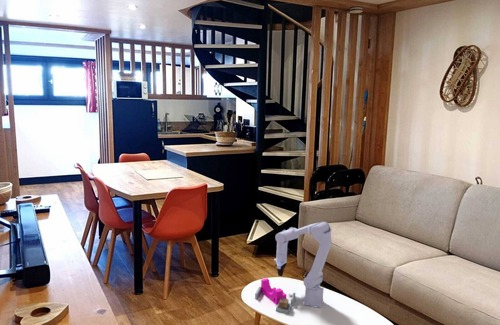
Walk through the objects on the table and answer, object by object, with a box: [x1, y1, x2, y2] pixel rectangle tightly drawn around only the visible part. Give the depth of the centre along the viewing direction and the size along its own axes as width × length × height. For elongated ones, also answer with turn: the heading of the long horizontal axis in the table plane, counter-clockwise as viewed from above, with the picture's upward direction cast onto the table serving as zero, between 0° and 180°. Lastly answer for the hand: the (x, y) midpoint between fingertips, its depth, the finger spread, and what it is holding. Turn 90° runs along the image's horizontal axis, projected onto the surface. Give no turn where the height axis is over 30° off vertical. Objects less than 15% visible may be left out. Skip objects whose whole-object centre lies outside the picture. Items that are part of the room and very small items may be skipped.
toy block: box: [260, 278, 287, 306], centre depth 211 cm, size 15×6×8 cm, turn 31°
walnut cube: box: [279, 298, 289, 310], centre depth 200 cm, size 4×4×4 cm
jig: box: [254, 286, 296, 314], centre depth 206 cm, size 20×16×3 cm
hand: (280, 275), depth 219 cm, fingers closed
